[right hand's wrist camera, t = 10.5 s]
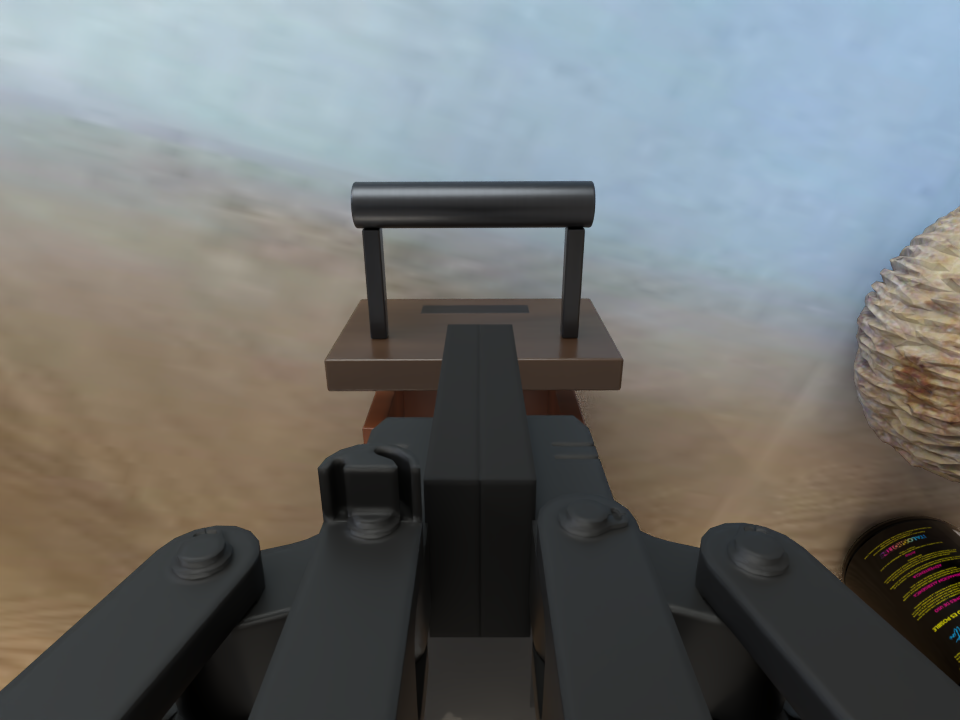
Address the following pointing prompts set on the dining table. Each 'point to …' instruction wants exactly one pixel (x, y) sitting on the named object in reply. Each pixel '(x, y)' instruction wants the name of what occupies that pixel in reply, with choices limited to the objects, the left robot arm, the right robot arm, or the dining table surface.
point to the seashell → (915, 351)
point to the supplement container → (912, 583)
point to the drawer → (472, 301)
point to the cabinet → (479, 678)
